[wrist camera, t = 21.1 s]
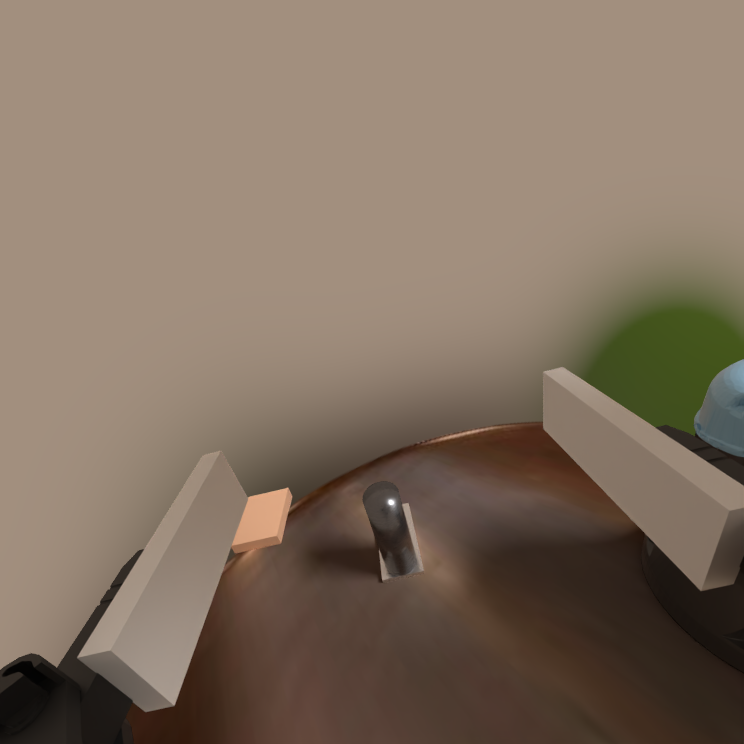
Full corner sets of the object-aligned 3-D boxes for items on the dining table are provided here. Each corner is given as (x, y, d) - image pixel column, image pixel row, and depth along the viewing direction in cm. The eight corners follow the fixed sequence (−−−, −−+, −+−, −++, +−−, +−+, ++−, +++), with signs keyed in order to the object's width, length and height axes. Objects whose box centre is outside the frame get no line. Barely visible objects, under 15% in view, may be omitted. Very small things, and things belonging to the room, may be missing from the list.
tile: (281, 545, 46) (292, 496, 54) (276, 535, 45) (288, 487, 53) (236, 555, 46) (253, 505, 54) (230, 546, 45) (248, 497, 54)
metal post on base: (409, 505, 46) (393, 443, 41) (424, 573, 37) (406, 505, 32) (375, 513, 47) (355, 452, 42) (383, 583, 38) (358, 516, 33)
